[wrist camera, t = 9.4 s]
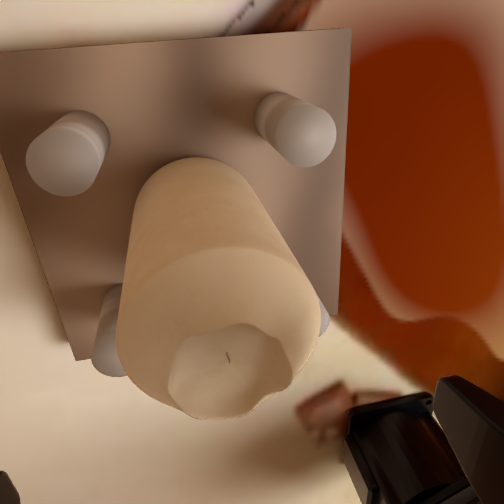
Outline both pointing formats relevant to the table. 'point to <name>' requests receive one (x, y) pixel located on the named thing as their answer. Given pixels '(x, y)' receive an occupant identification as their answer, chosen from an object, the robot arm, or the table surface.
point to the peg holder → (171, 153)
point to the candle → (211, 295)
